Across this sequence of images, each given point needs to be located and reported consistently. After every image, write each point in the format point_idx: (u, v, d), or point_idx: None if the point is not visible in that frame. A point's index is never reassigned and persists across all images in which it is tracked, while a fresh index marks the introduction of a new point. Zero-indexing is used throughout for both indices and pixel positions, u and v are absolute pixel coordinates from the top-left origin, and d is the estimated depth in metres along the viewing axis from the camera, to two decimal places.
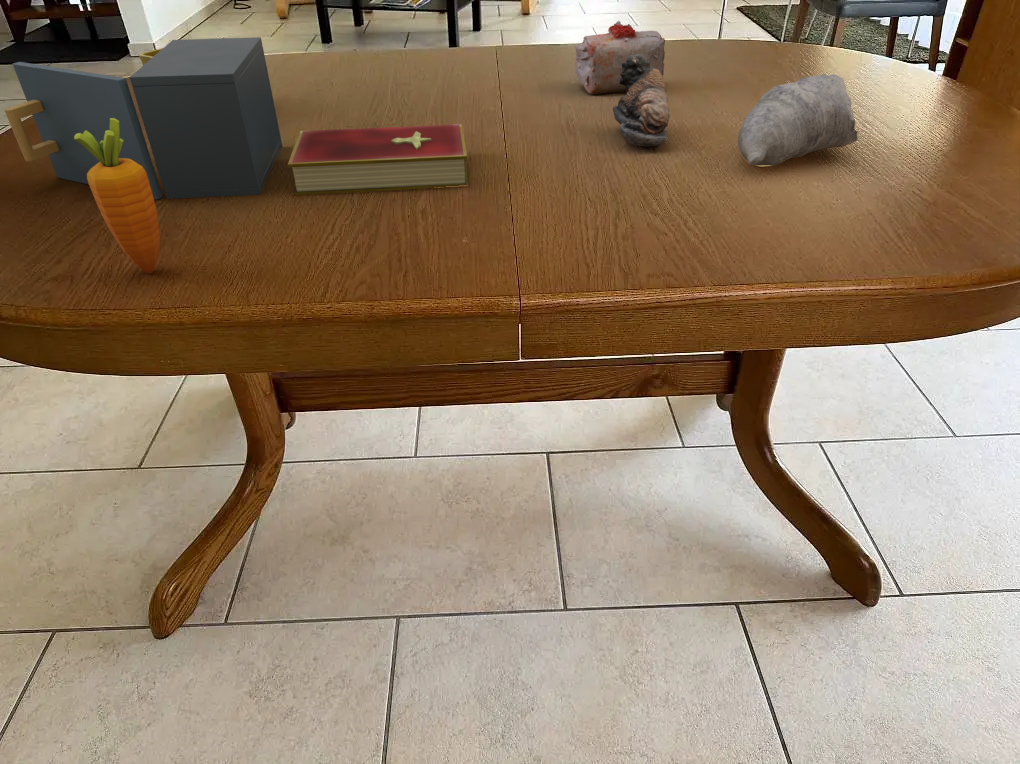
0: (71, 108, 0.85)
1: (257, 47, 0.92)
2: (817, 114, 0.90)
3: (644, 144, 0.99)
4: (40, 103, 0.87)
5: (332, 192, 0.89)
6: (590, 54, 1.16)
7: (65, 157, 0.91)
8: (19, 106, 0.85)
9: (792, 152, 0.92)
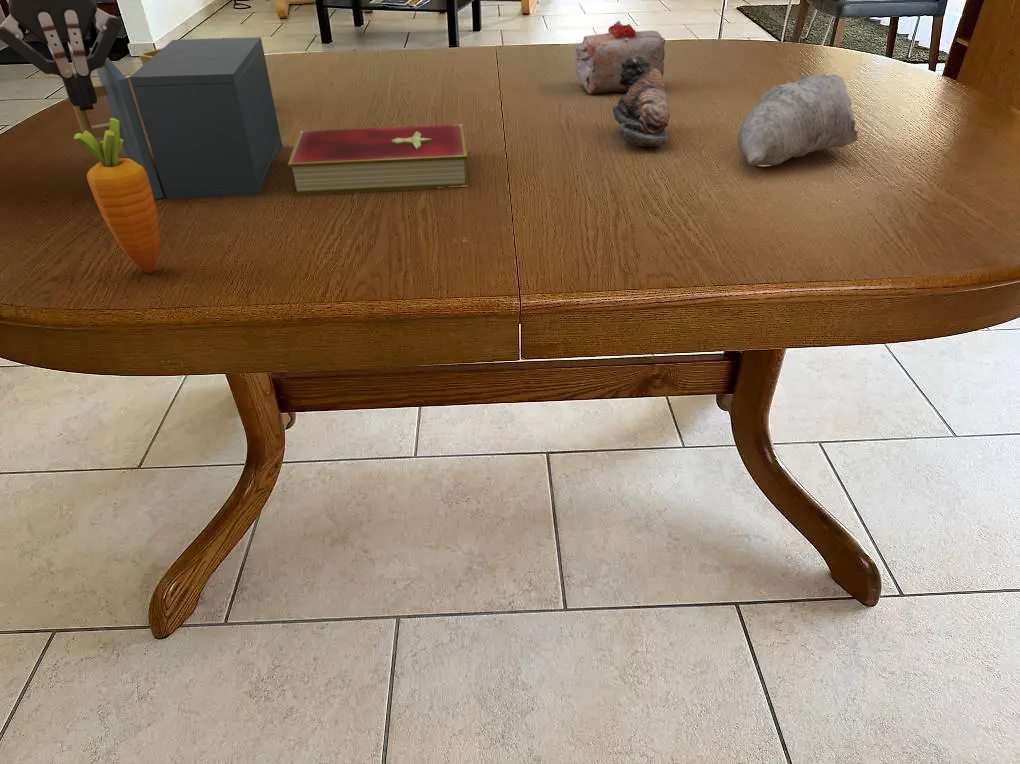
0: (112, 97, 0.88)
1: (257, 47, 0.92)
2: (817, 114, 0.90)
3: (644, 144, 0.99)
4: (104, 87, 0.92)
5: (332, 192, 0.89)
6: (590, 54, 1.16)
7: None
8: None
9: (792, 152, 0.92)
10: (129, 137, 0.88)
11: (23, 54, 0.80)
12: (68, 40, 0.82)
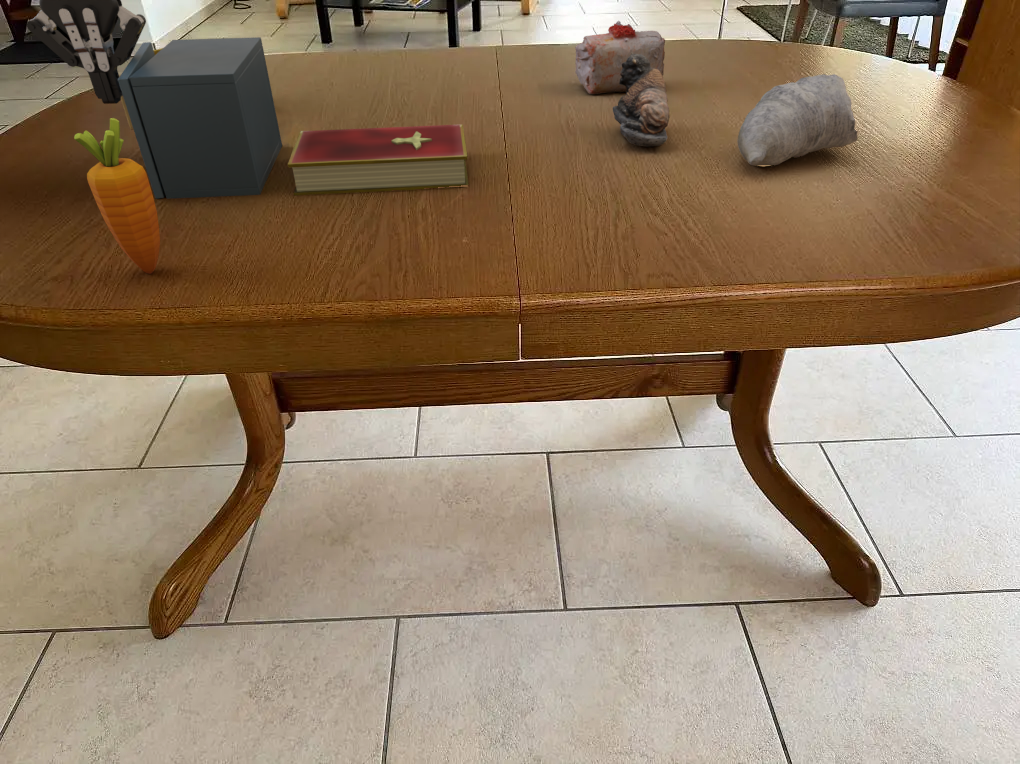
0: None
1: (257, 47, 0.92)
2: (817, 114, 0.90)
3: (644, 144, 0.99)
4: None
5: (332, 192, 0.89)
6: (590, 54, 1.16)
7: None
8: None
9: (792, 152, 0.92)
10: None
11: (50, 46, 0.85)
12: None
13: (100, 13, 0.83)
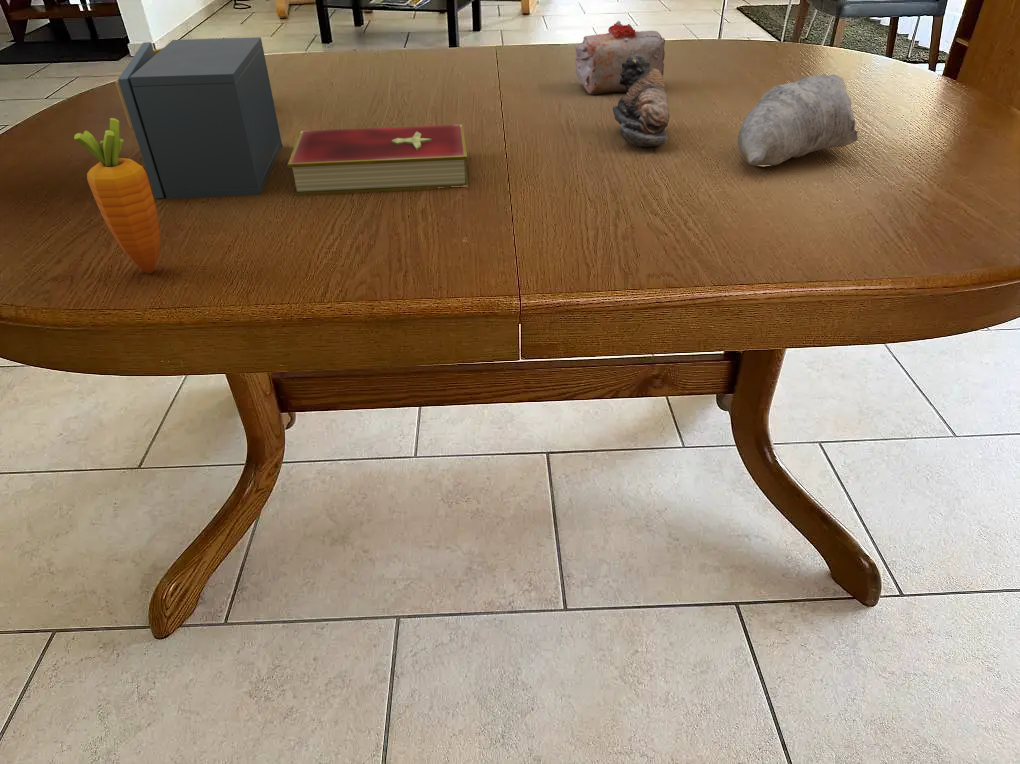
0: None
1: (257, 47, 0.92)
2: (817, 114, 0.90)
3: (644, 144, 0.99)
4: None
5: (332, 192, 0.89)
6: (590, 54, 1.16)
7: None
8: None
9: (792, 152, 0.92)
10: None
11: None
12: None
13: None
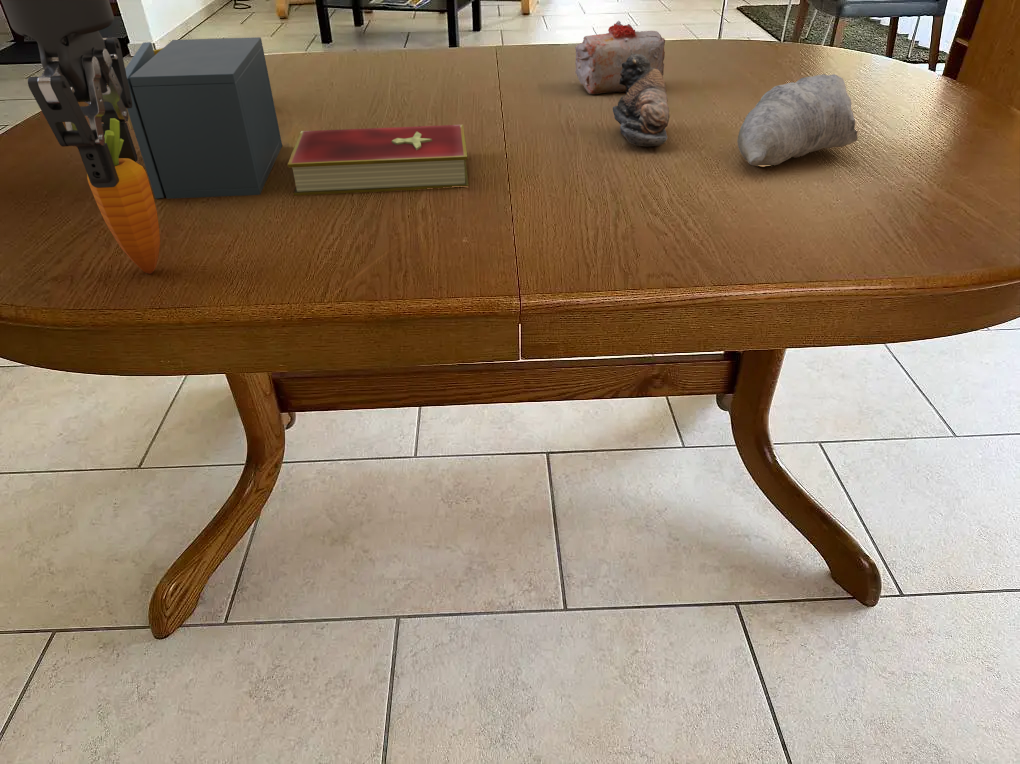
0: None
1: (257, 47, 0.92)
2: (817, 114, 0.90)
3: (644, 144, 0.99)
4: None
5: (332, 192, 0.89)
6: (590, 54, 1.16)
7: None
8: None
9: (792, 152, 0.92)
10: None
11: (76, 114, 0.59)
12: (107, 89, 0.65)
13: None
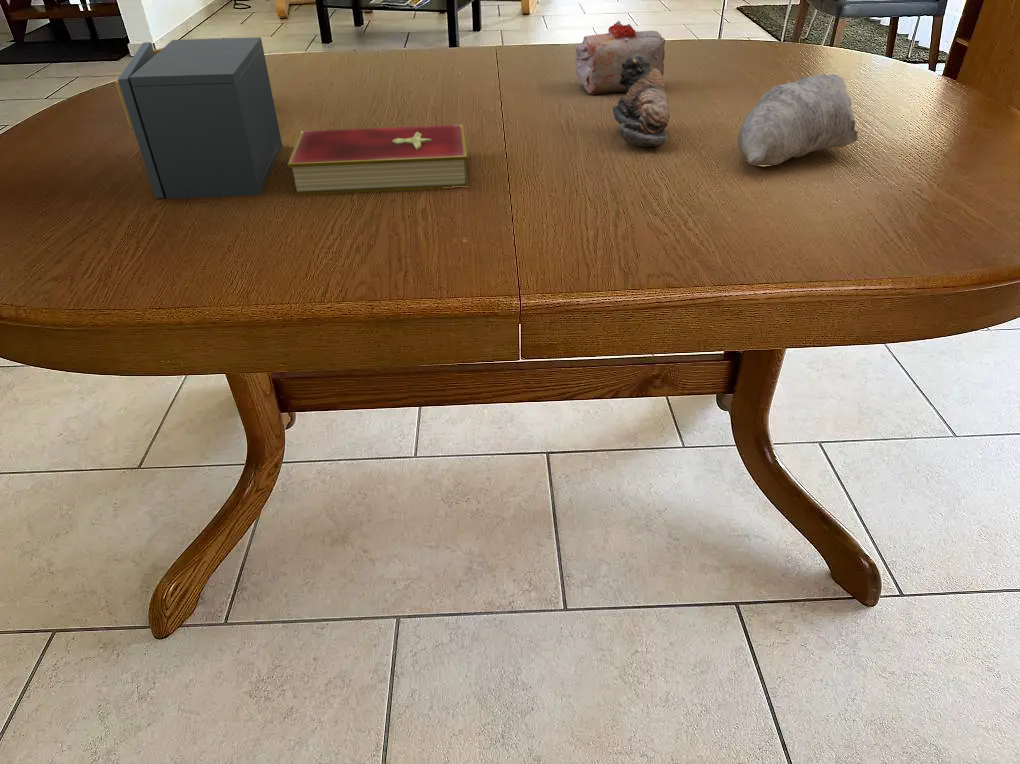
0: None
1: (257, 47, 0.92)
2: (817, 114, 0.90)
3: (644, 144, 0.99)
4: None
5: (332, 192, 0.89)
6: (590, 54, 1.16)
7: None
8: None
9: (792, 152, 0.92)
10: None
11: None
12: None
13: None
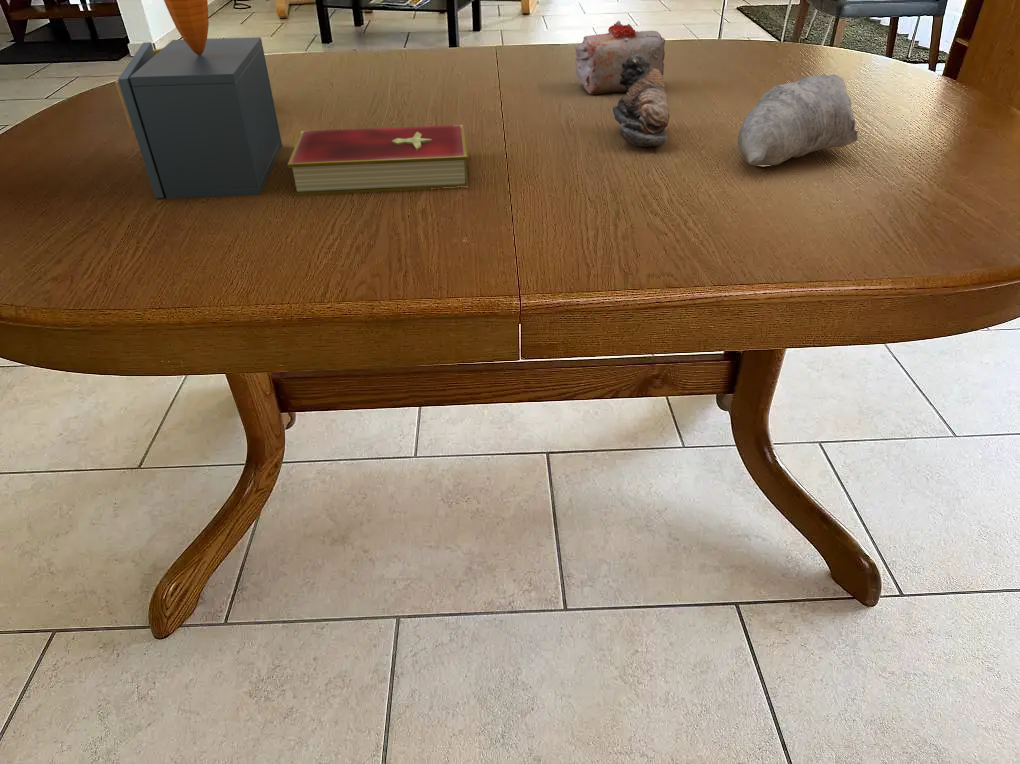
0: None
1: (257, 47, 0.92)
2: (817, 114, 0.90)
3: (644, 144, 0.99)
4: None
5: (332, 192, 0.89)
6: (590, 54, 1.16)
7: None
8: None
9: (792, 152, 0.92)
10: None
11: None
12: None
13: None
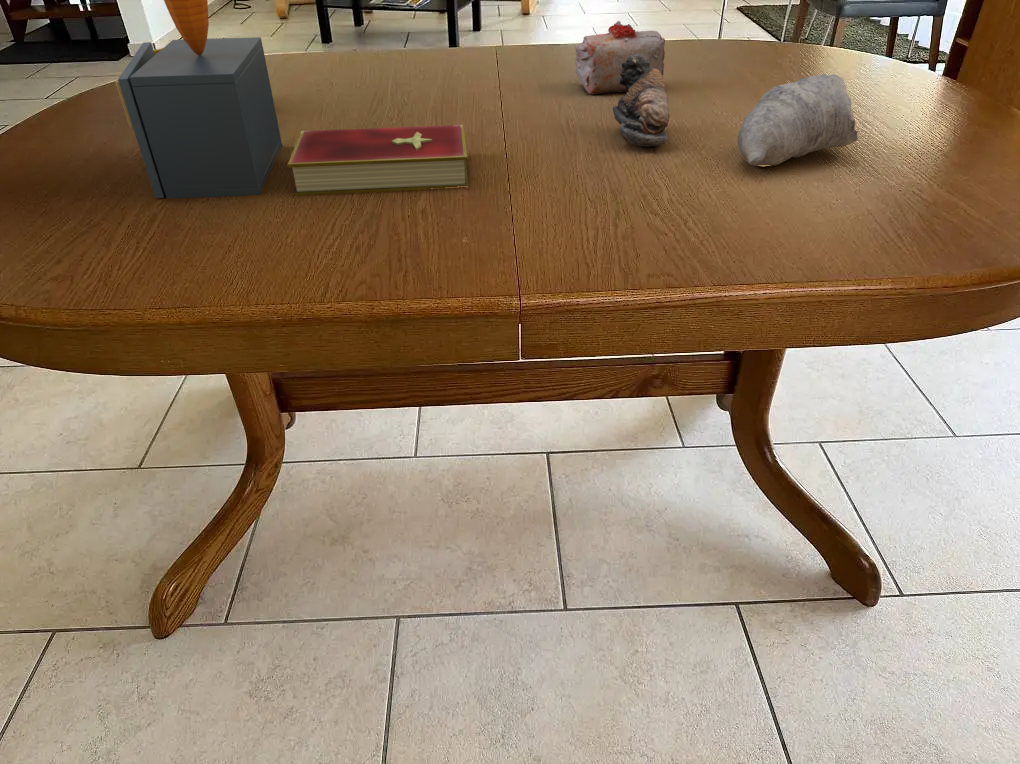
0: None
1: (257, 47, 0.92)
2: (817, 114, 0.90)
3: (644, 144, 0.99)
4: None
5: (332, 192, 0.89)
6: (590, 54, 1.16)
7: None
8: None
9: (792, 152, 0.92)
10: None
11: None
12: None
13: None
